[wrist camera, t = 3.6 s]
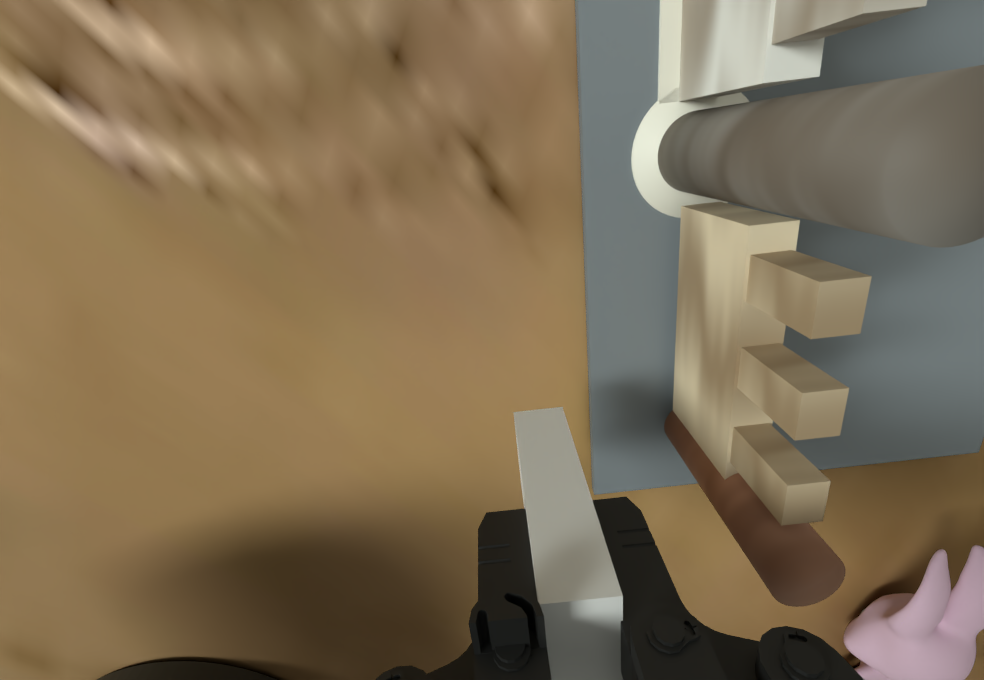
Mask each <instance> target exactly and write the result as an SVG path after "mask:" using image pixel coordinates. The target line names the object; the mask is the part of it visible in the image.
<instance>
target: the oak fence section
mask: <svg viewBox="0 0 984 680" xmlns="http://www.w3.org/2000/svg"><path fill="white" fill-rule="evenodd" d="M799 224H800V220H797V219H793V218H789V217H784V216H780V215H776V214H771V213H767V212H762V211H758V210H754V209H749V208H745V207H741V206H736V205H732V204H728V203H723V202H712V203H703V204H695V205H686V206H681V223H680V247H679V271H678V295H677V319H676V343H675V367H674V391H673V410H672V411H671V412H670V413H669V415H668V416H667V418H666V420H665V424H664V430H665V433H666V435H667V437H668V438H669V440H670V441H671V443H672V444H673V446H674V447H675V449H676V450H677V452H678V454H679V455H680V457H681V458H682V460H683V461H684V463H685V464H686V466H687V467H688V469H689V470H690V472H691V473H692V475H693V476H694V478H695V479H696V481H697V482H698V484H699V485H700V487H701V488H702V490H703V491H704V493H705V494H706V496H707V497H708V499H709V500H710V502H711V503H712V505H713V506H714V508H715V509H716V511H717V512H718V514H719V515H720V517H721V518H722V520H723V521H724V523H725V524H726V526H727V527H728V529H729V531H730V532H731V534H732V535H733V537H734V538H735V540H736V541H737V543H738V544H739V546H740V547H741V549H742V550H743V552H744V553H745V555H746V556H747V558H748V559H749V561H750V562H751V564H752V565H753V567H754V568H755V570H756V571H757V573H758V574H759V576H760V577H761V579H762V580H763V582H764V583H765V585H766V586H767V588H768V589H769V591H770V592H771V594H772V595H773V597H774V598H775V599H776V600H777V601H778V602H780V603H782V604H784V605H788V606H797V607H798V606H807V605H811V604H815V603H817V602H820V601H822V600H824V599H826V598H827V597H829V596H830V595H832V594H833V593H834V592H835V591H836V590H837V589H838V588H839V587H840V585H841V584H842V582H843V580H844V577H845V566H844V564H843V562H842V561H841V559H840V558H839V557H838V556H837V555H836V554H835V553H834V552H833V550H832V549H831V548H830V547H829V546H828V545H827V544H826V542H825V541H824V540H823V539H822V538H821V537H820V536H819V535H818V533H817V532H816V531H815V530H814V529H813V528H812V527H811V526H810V524H809V523H810V522H819V521H823V517H824V512H825V507H826V502H827V497H828V492H829V487H830V482H831V481H830V480H829V479H828V478H827V477H826V476H825V475H824V474H823V473H822V472H821V471H820V470H818V469H817V468H816V467H815V466H814V465H813V464H812V463H811V462H810V461H809V460H808V459H807V458H806V457H805V456H804V455H803V454H801V453H800V452H799V451H798V450H797V449H796V448H795V447H794V446H793V445H792V444H791V443H790V442H789V441H788V440H787V439H786V438H784V437H783V436H782V435H781V434H780V433H779V432H778V431H777V430H776V429H775V428H774V427H773V426H772V423H773V421H774V422H775V423H776V424H777V425H778V426H779V427H781V428H782V429H783V430H784V431H785V432H786V433H787V434H788V435H789V436H790V437H791V438H792V439H794V440H795V441H796V440H805V439H814V438H823V437H832V436H840V432H841V427H842V422H843V417H844V412H845V407H846V402H847V397H848V392H849V387H847V386H845V385H844V384H842V383H841V382H839V381H838V380H836V379H835V378H833V377H831V376H830V375H828V374H827V373H825V372H824V371H822V370H821V369H819V368H818V367H816V366H814V365H813V364H811V363H810V362H808V361H807V360H805V359H804V358H802V357H801V356H799V355H797V354H796V353H794V352H793V351H791V350H790V349H788V348H787V347H785V346H784V345H783V342H784V335H785V327H786V325H787V326H789V327H790V328H792V329H794V330H796V331H797V332H799V333H801V334H803V335H804V336H806V337H808V338H810V339H818V338H827V337H836V336H844V335H853V334H860V333H861V328H862V323H863V318H864V313H865V308H866V303H867V298H868V293H869V288H870V283H871V278H872V276H870V275H867V274H863V273H860V272H857V271H854V270H851V269H848V268H845V267H842V266H839V265H836V264H833V263H830V262H827V261H824V260H821V259H818V258H815V257H812V256H809V255H806V254H803V253H800V252H797V251H796V246H797V239H798V231H799Z"/></svg>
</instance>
